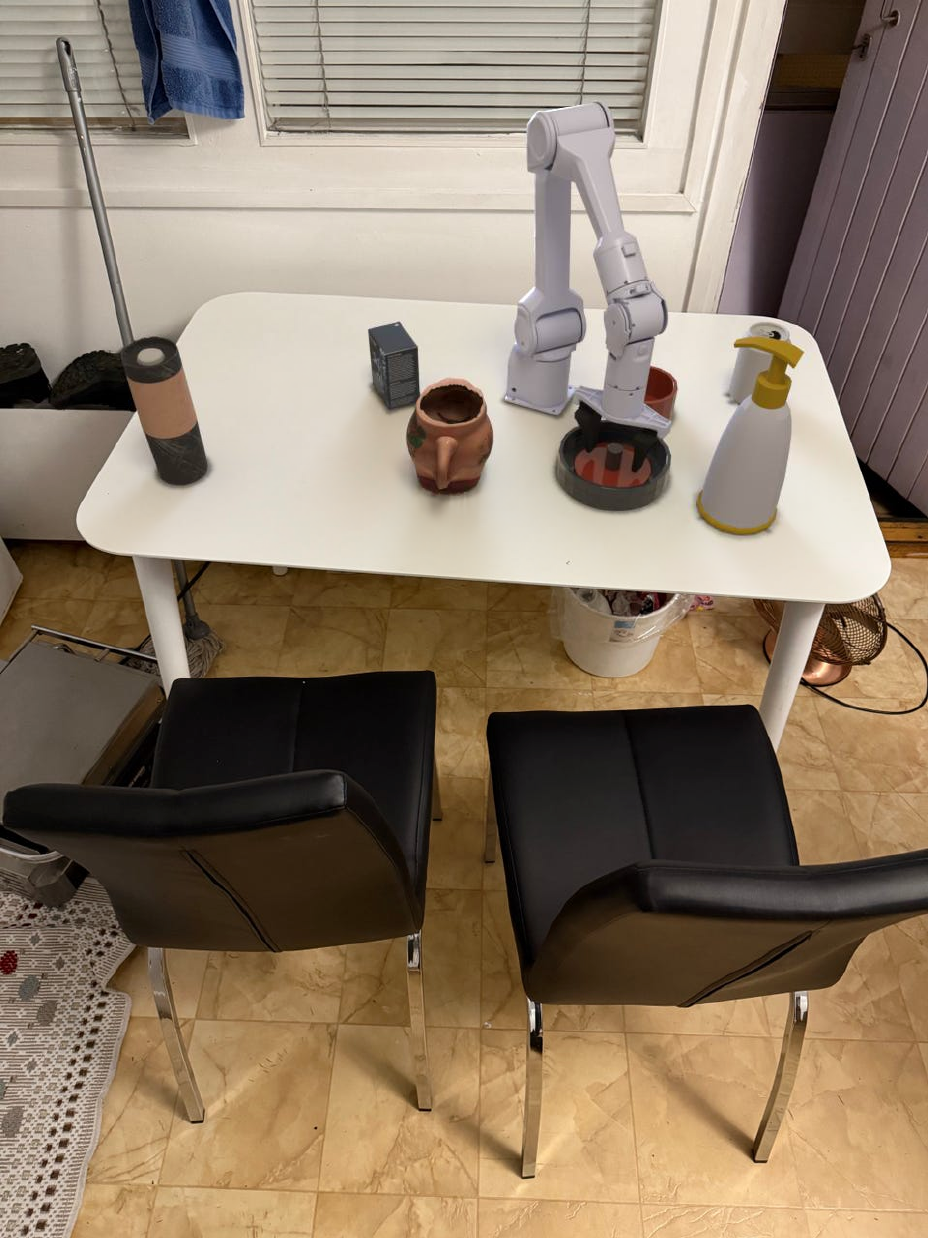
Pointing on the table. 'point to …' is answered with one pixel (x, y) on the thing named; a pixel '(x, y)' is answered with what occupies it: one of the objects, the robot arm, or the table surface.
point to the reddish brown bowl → (661, 392)
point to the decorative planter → (449, 437)
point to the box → (394, 365)
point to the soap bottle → (753, 449)
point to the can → (754, 359)
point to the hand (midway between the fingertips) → (613, 458)
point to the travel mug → (165, 409)
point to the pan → (611, 495)
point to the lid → (611, 466)
